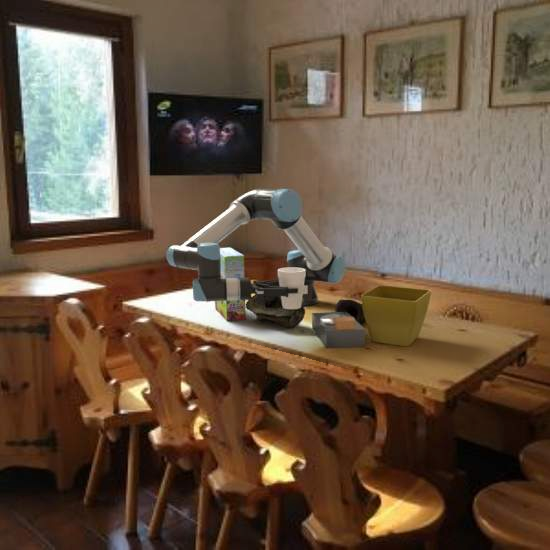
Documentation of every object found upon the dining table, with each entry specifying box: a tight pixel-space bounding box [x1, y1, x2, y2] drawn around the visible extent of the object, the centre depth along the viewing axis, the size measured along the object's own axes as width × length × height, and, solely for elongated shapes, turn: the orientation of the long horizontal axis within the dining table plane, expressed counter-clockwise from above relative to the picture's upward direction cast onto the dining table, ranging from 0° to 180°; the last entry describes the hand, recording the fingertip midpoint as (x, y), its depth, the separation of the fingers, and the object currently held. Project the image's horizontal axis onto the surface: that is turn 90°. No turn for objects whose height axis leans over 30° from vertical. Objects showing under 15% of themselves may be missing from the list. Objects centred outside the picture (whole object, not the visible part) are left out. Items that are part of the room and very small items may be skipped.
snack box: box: [214, 247, 247, 322], centre depth 246 cm, size 22×9×26 cm, turn 18°
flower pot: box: [360, 284, 432, 347], centre depth 210 cm, size 19×19×17 cm
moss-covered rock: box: [245, 294, 306, 329], centre depth 233 cm, size 28×13×15 cm
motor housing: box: [311, 311, 366, 349], centre depth 214 cm, size 24×13×9 cm, turn 8°
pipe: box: [334, 299, 365, 324], centre depth 237 cm, size 10×15×15 cm
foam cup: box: [277, 266, 306, 309], centre depth 209 cm, size 10×9×13 cm
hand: (304, 286), depth 210 cm, fingers closed on foam cup, 9 cm apart
